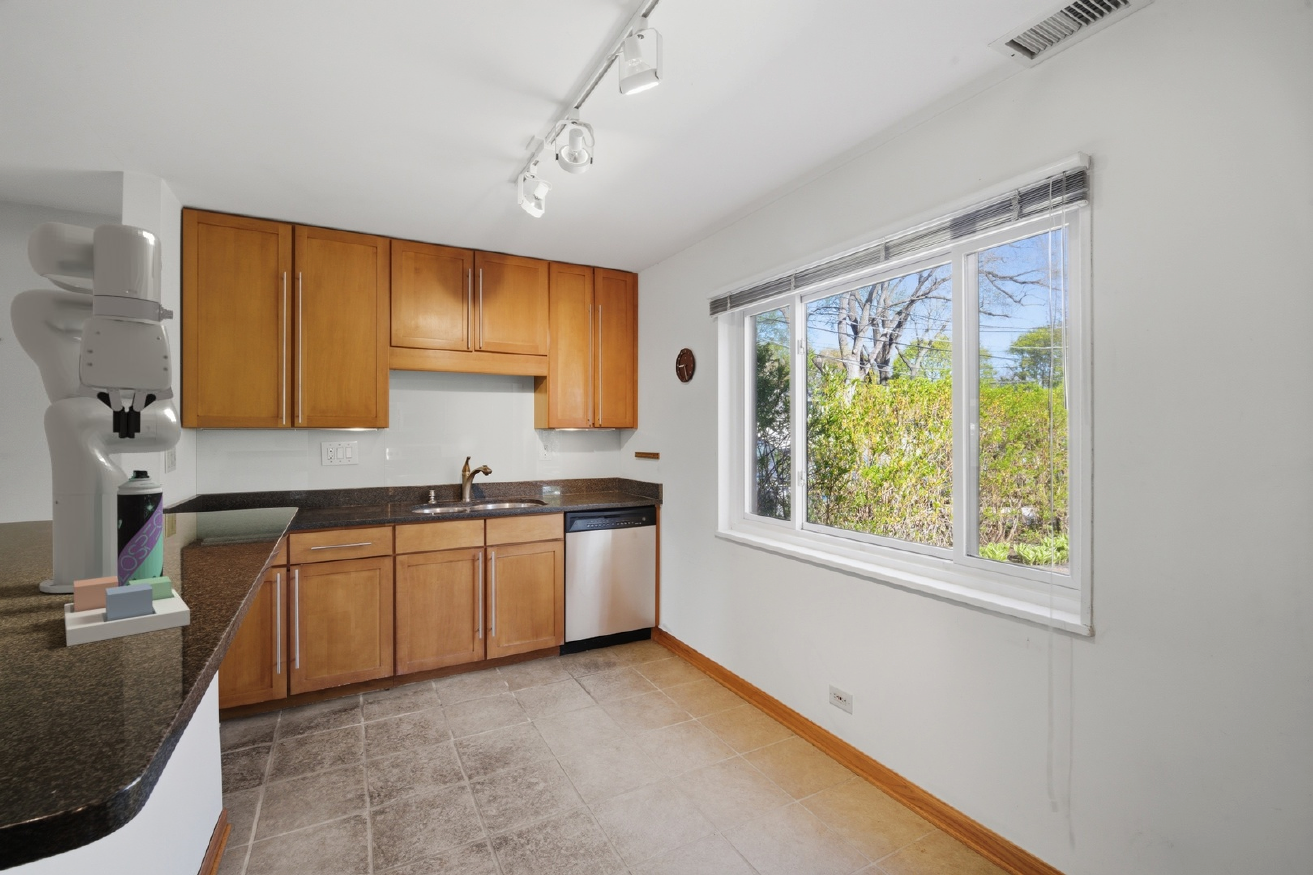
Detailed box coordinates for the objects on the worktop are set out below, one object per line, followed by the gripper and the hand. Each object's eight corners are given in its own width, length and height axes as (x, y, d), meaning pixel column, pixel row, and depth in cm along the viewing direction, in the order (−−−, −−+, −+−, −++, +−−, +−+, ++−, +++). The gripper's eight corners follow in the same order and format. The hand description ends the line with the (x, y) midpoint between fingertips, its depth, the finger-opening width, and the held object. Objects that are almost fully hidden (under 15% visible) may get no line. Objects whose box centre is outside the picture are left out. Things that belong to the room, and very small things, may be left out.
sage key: (128, 604, 88) (128, 580, 88) (167, 598, 91) (167, 575, 91) (131, 611, 85) (131, 586, 85) (171, 605, 88) (171, 581, 88)
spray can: (109, 602, 92) (108, 471, 92) (129, 593, 98) (129, 469, 97) (152, 600, 94) (151, 471, 93) (169, 590, 99) (169, 468, 99)
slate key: (105, 614, 81) (105, 588, 81) (148, 607, 84) (148, 582, 84) (108, 622, 78) (107, 595, 77) (152, 614, 81) (152, 588, 81)
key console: (64, 618, 85) (64, 604, 84) (173, 601, 93) (173, 588, 93) (66, 646, 74) (66, 630, 74) (189, 624, 82) (189, 609, 82)
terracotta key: (73, 606, 84) (73, 581, 84) (116, 600, 87) (115, 575, 87) (74, 613, 81) (74, 587, 81) (118, 606, 84) (118, 581, 84)
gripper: (186, 322, 97) (185, 436, 98) (55, 307, 86) (54, 436, 87) (195, 318, 92) (194, 439, 92) (56, 302, 81) (56, 439, 82)
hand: (126, 437), depth 90 cm, fingers closed
